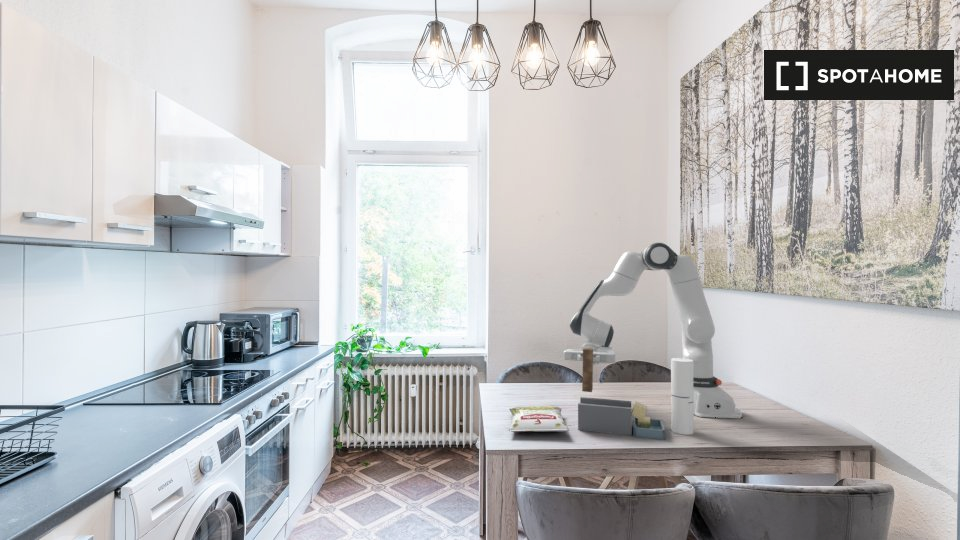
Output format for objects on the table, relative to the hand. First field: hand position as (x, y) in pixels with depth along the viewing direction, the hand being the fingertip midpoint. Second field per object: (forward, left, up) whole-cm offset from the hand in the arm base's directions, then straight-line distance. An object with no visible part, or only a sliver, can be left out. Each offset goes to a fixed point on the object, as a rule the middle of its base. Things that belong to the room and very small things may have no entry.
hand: (587, 359), depth 171 cm
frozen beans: (+17, +15, -23) cm, 32 cm away
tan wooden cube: (-18, +9, -20) cm, 28 cm away
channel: (-7, +9, -22) cm, 25 cm away
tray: (-21, +9, -22) cm, 32 cm away
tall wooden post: (0, -1, -12) cm, 12 cm away
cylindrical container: (-33, +4, -23) cm, 40 cm away
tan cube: (-18, +10, -17) cm, 26 cm away
